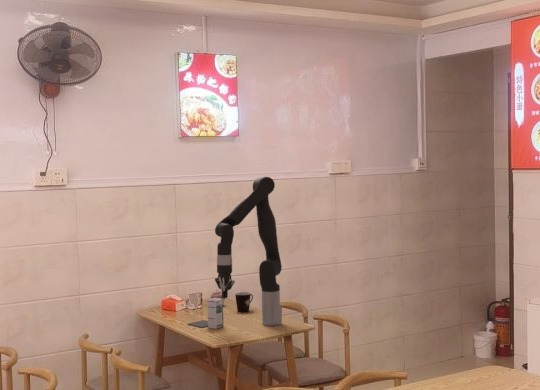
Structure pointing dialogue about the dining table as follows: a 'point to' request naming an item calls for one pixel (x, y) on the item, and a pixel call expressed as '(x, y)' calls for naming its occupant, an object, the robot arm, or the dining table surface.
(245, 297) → the coffee mug
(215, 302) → the syrup box
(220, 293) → the cupcake
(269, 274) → the robot arm
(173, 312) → the dining table surface
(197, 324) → the mat
